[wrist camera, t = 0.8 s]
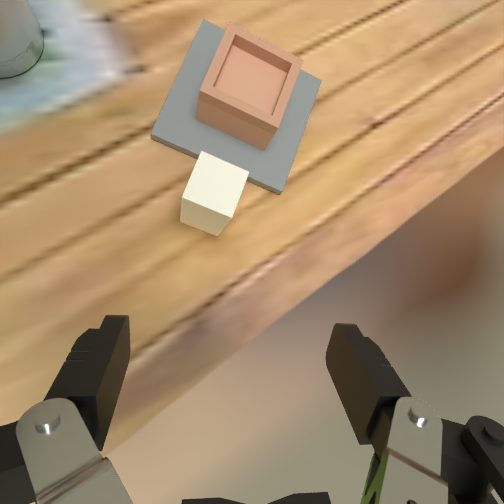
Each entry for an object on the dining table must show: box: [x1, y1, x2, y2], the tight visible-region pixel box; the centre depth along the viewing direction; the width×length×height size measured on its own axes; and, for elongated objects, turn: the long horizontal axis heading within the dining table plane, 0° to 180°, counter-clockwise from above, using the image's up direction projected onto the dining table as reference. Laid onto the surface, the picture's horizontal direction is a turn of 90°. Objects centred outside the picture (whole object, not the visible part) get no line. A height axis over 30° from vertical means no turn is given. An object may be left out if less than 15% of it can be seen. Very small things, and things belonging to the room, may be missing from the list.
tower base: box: [151, 19, 322, 195], centre depth 36 cm, size 16×16×7 cm
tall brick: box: [180, 151, 249, 237], centre depth 32 cm, size 4×4×10 cm
